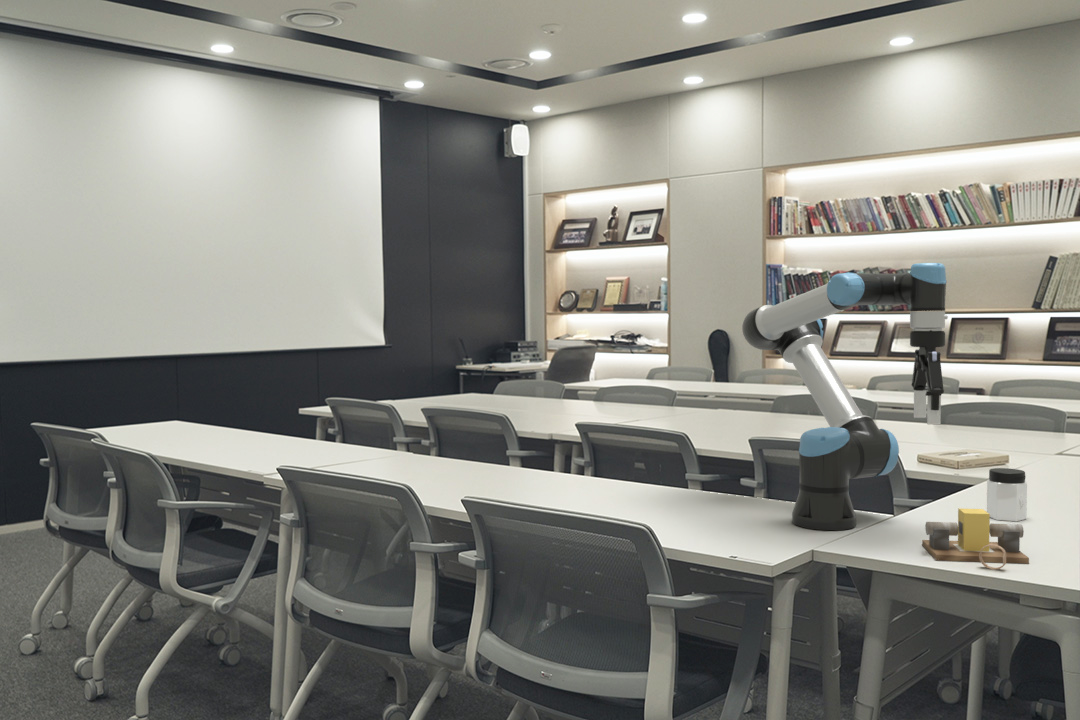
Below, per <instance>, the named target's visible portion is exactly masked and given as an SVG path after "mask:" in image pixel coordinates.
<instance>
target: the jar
mask: <svg viewBox="0 0 1080 720" xmlns="http://www.w3.org/2000/svg"><path fill="white" fill-rule="evenodd" d="M988 473H989V475H988V479H987V480H986V512H988V513H989V514H990V518H991V519H993V520H995V521H1004V522H1015V523H1017V522H1020V521H1024V520H1027V515H1028V514H1027V508H1028V507H1027V503H1028V501H1027V500H1028V499H1027V498H1028V482H1026V472H1025V470H1021V469H1017V468H1007V467H1006V468H1005V467H997V468H990V469H989V471H988Z"/></svg>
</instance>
